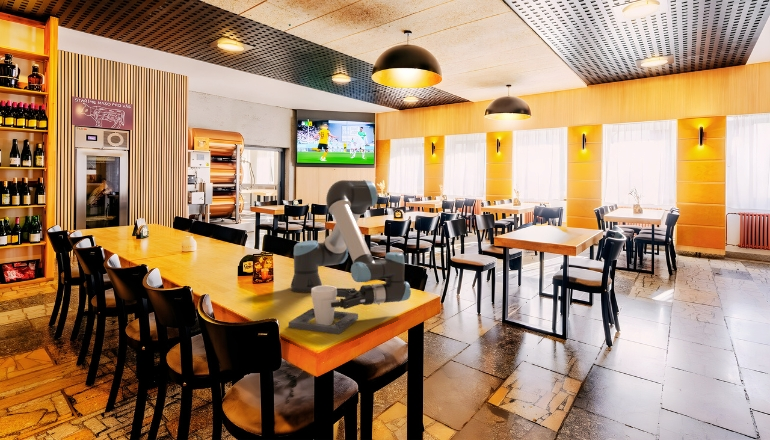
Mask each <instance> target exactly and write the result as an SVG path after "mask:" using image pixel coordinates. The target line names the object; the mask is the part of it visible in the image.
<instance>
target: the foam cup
mask: <svg viewBox="0 0 770 440" xmlns="http://www.w3.org/2000/svg"><path fill="white" fill-rule="evenodd" d="M337 288H338V287H336V286H333V285H327V284H326V285H322V286H317V287H313V288H312V289H311V292H310V295H311V298H312V305H313V306H312V307H313V309H314V313H315V319H314V320H315V323H316V324H324V325H331V326H332V325H334V319H335V318H334V311H336V309H335V308H329V309H321V301H328V300H337V299H336V298H337V297H336V296H337Z"/></svg>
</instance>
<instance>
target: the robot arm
mask: <svg viewBox="0 0 770 440" xmlns="http://www.w3.org/2000/svg"><path fill="white" fill-rule="evenodd" d="M378 197H379V195H378V189H377V187H376V185H375V183H374V182H372V181H370V180H364V179H362V180H347V179H346V180H345V179H342V180H338V181H336V182H334V183H333V184H332V185H331V186H330V187H329V189H328V191H327V193H326V199H325V202H326V207H327V210H328V212H329V214H330V215H331V216H333V217H334V220H335V224H334V226H333V229H332V231H331V232H330V235H327V236H326V238H324V241H323V242H318V240H306V241H305V240H304V241H300V242H297V243H296V244H295V245H294V247H293V271H294V272H293V273H294V274H293V277H292V279H291V280H292V281H291V283H290V291H292V292H294V293H311V289H312V288H313V287H317V286H323V283H322V280H321V277H320V275H319V274H320V273H319V267H325V266H334V265H339V264H344V263H345V262H346V260H347V259H348V256H349V255H350V258H351V261H352V264H351V268H350V273H351V278H352V280H353V281H355V282H356V283H366V282H370V281H371V282H372V281H376V280H383V279H384V280H385V283H375V284H374V283H373V284H365V285H361V286H360V289H359V290H357V289H356V288H355V287H351V288H346V287H345V288H342V287H341V288H340V287H339V288H338V287H336V288H337V296H336V298H339V299H336V300H328V301H321V309H329V308H341V309H344V310H346V309H351V308H354V307H356V306H360V305H363V306H368V305H379V306H380V304H384V303H385V304H387V303H395V302H396V303H397V302H398V303H399V302H404V301H408V300H409V299H410V297H411V295H412V294H411V293H412V290H411V286H410V283H409V282H408V281H405V265H406V264H405V262H406V261H405V255H404V253H403V252H397V251H391V252H386V253H385V257H384V258H381V259H374V257H373V256H372V253H371V251H370V249H369V247H368V245H367V242H366V240H365V238H364V235H363V234H362V231H361V229H360V227H359V224H358V220H359V219H360V216H361V215H364V214H365V213H367V210H368V208H369V207H371V208H372V207H375V206H376V204H377V202H378ZM348 253H349V254H348Z"/></svg>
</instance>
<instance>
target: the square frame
mask: <svg viewBox="0 0 770 440" xmlns="http://www.w3.org/2000/svg"><path fill="white" fill-rule="evenodd" d="M314 318H315V313H314V307H313V308H310V309H308V310H306V311H305V312H303V313H302V314H300V315H299V316H297V317H295V318H293V319H291V320H290V321H288V328H290V329H297V330H304V331H311V332H319V333H327V334H332V335H333V334H334V335H340V334H342V332H344V331H346V329H348V328H349V327H350V326H351V325H353V324H354V323H355V322H356V321H357V320H358V319H359V313H356V312H348V311H347V312H346V311H340V310H339V311H338V310H337V311H336V310H334V319H339V320H338V321H337V322H335V323H333V324H331V325H324V324H316V322H315V323H314V322H310V321H311V320H313V319H314Z"/></svg>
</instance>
